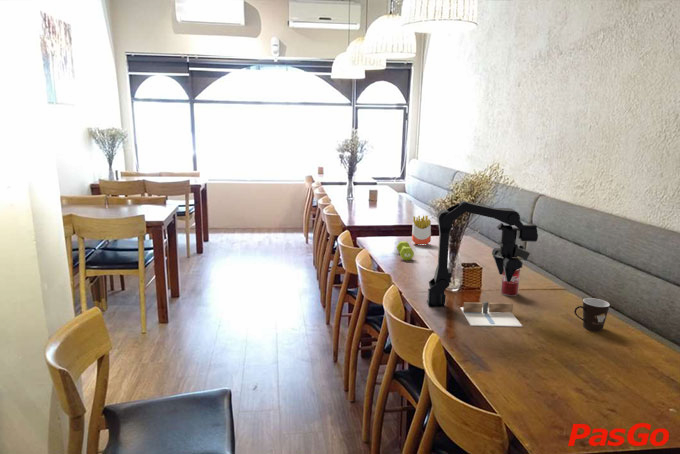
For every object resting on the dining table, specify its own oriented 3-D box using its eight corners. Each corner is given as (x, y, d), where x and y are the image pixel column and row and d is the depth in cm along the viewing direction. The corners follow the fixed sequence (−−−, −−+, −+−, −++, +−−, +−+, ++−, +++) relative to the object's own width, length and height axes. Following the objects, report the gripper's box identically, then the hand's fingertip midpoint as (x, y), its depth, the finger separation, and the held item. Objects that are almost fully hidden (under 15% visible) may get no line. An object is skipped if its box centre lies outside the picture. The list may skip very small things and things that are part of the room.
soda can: (519, 297, 202) (521, 270, 199) (501, 295, 203) (504, 269, 200) (516, 291, 209) (518, 265, 206) (499, 290, 210) (501, 264, 207)
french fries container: (430, 245, 286) (431, 216, 282) (412, 245, 286) (414, 216, 282) (429, 243, 291) (430, 215, 287) (411, 243, 291) (412, 215, 287)
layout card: (470, 325, 173) (470, 324, 173) (460, 308, 189) (460, 306, 189) (522, 326, 172) (522, 325, 172) (507, 308, 189) (507, 307, 189)
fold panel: (489, 312, 183) (490, 303, 182) (488, 311, 184) (489, 302, 183) (512, 312, 183) (513, 304, 182) (511, 311, 184) (512, 303, 183)
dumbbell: (396, 252, 270) (396, 240, 269) (409, 252, 270) (410, 240, 269) (399, 260, 254) (400, 248, 253) (414, 261, 254) (414, 248, 253)
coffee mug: (603, 324, 174) (607, 299, 172) (608, 334, 166) (612, 308, 164) (569, 320, 178) (572, 295, 176) (572, 329, 170) (575, 304, 168)
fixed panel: (464, 314, 183) (464, 302, 182) (462, 312, 185) (463, 301, 184) (488, 314, 183) (488, 303, 182) (486, 312, 185) (487, 301, 184)
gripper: (538, 247, 175) (533, 286, 178) (520, 235, 193) (516, 271, 196) (508, 246, 175) (504, 285, 178) (493, 234, 193) (489, 270, 197)
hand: (504, 278), depth 187 cm, fingers open, 9 cm apart
